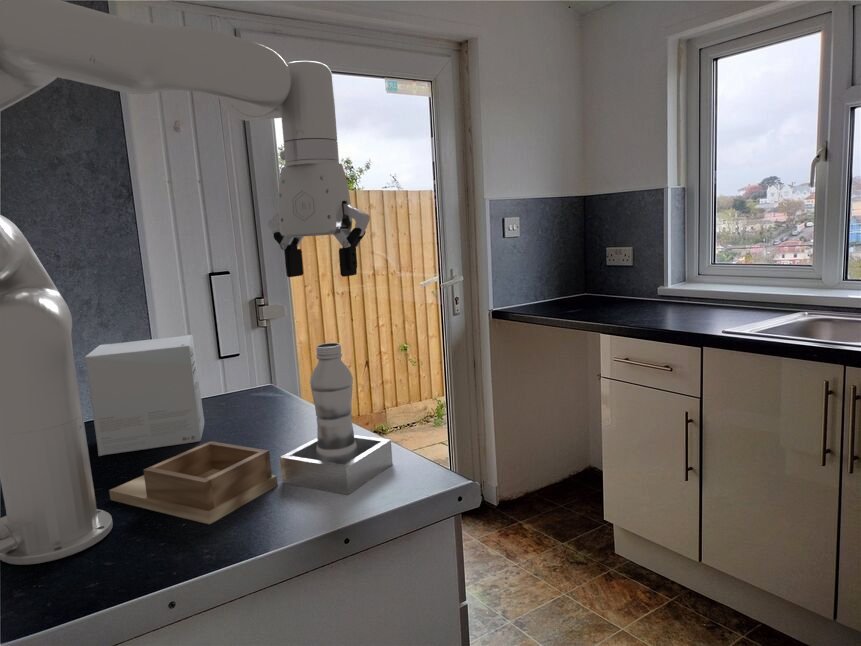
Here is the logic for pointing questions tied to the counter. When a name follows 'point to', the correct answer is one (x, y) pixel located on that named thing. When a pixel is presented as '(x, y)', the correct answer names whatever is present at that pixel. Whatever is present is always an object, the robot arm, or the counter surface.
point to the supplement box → (145, 394)
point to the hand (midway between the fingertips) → (321, 275)
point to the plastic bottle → (333, 406)
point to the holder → (336, 466)
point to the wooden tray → (201, 482)
